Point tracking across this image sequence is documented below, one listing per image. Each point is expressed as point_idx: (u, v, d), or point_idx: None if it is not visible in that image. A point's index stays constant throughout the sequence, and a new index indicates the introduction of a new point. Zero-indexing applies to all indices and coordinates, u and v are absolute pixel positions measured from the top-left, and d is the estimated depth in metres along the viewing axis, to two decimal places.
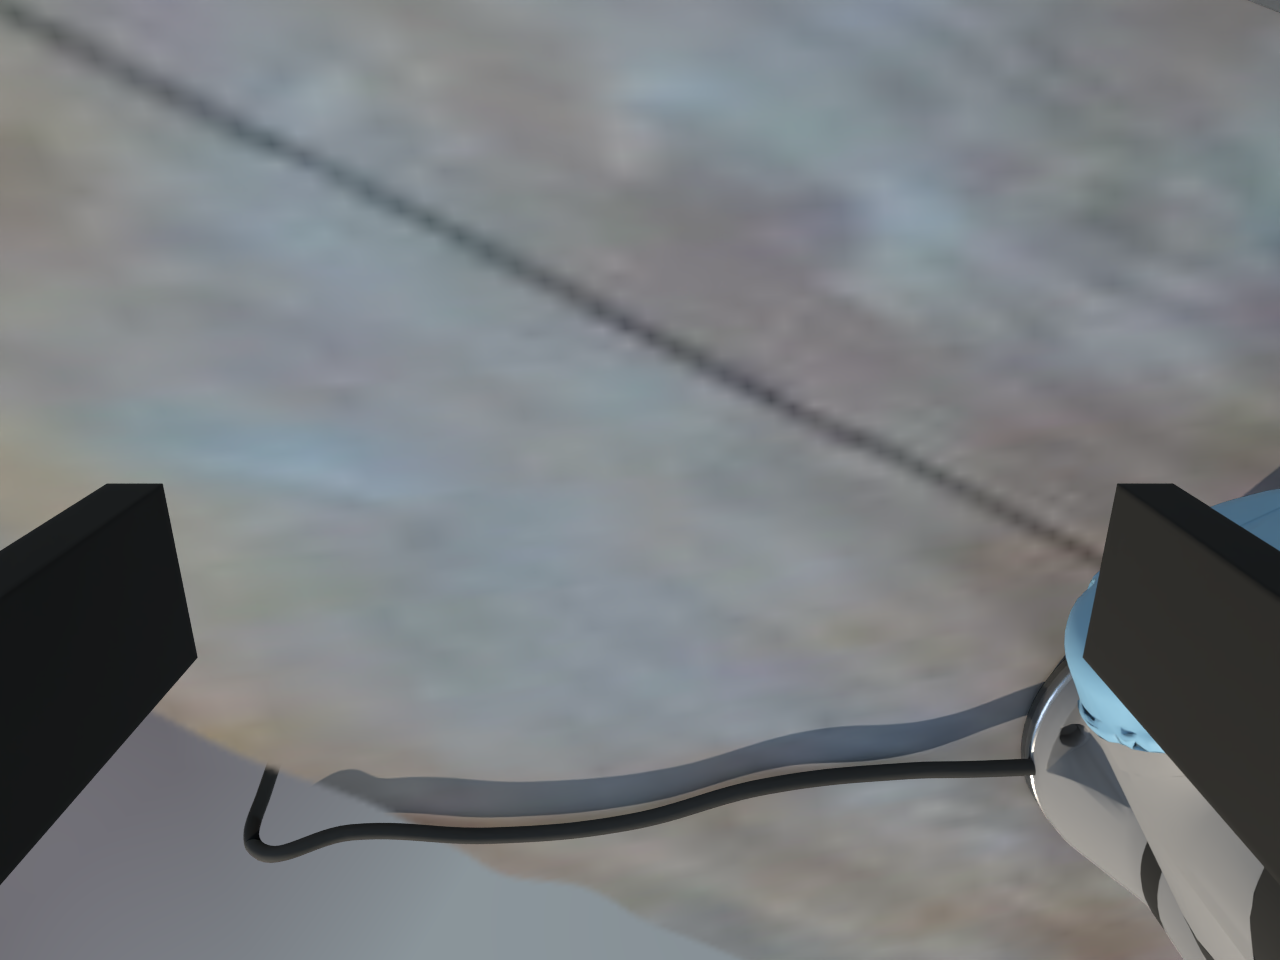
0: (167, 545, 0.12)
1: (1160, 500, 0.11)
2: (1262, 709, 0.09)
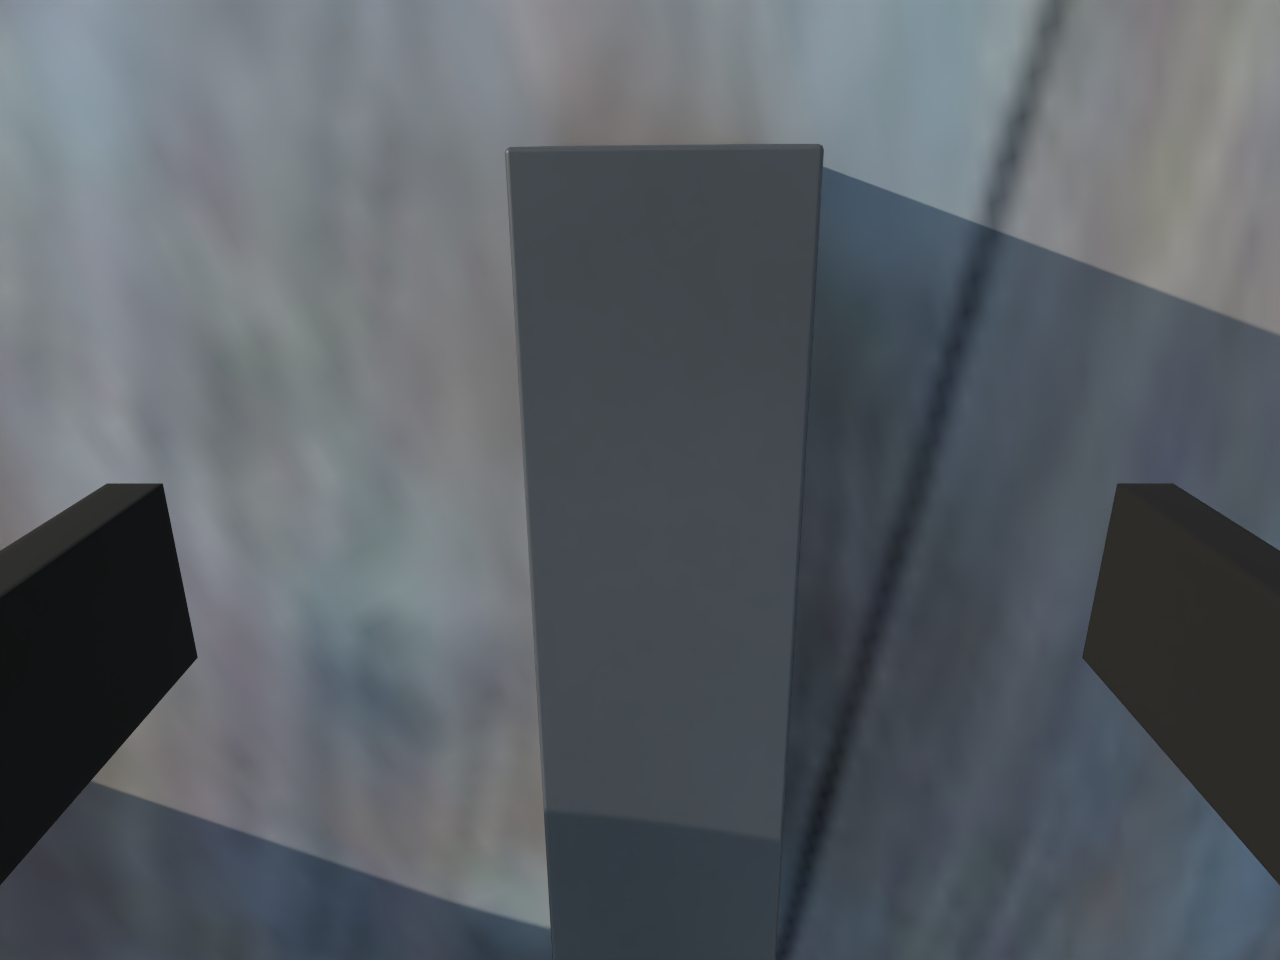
0: (167, 545, 0.12)
1: (1160, 500, 0.11)
2: (1262, 709, 0.09)
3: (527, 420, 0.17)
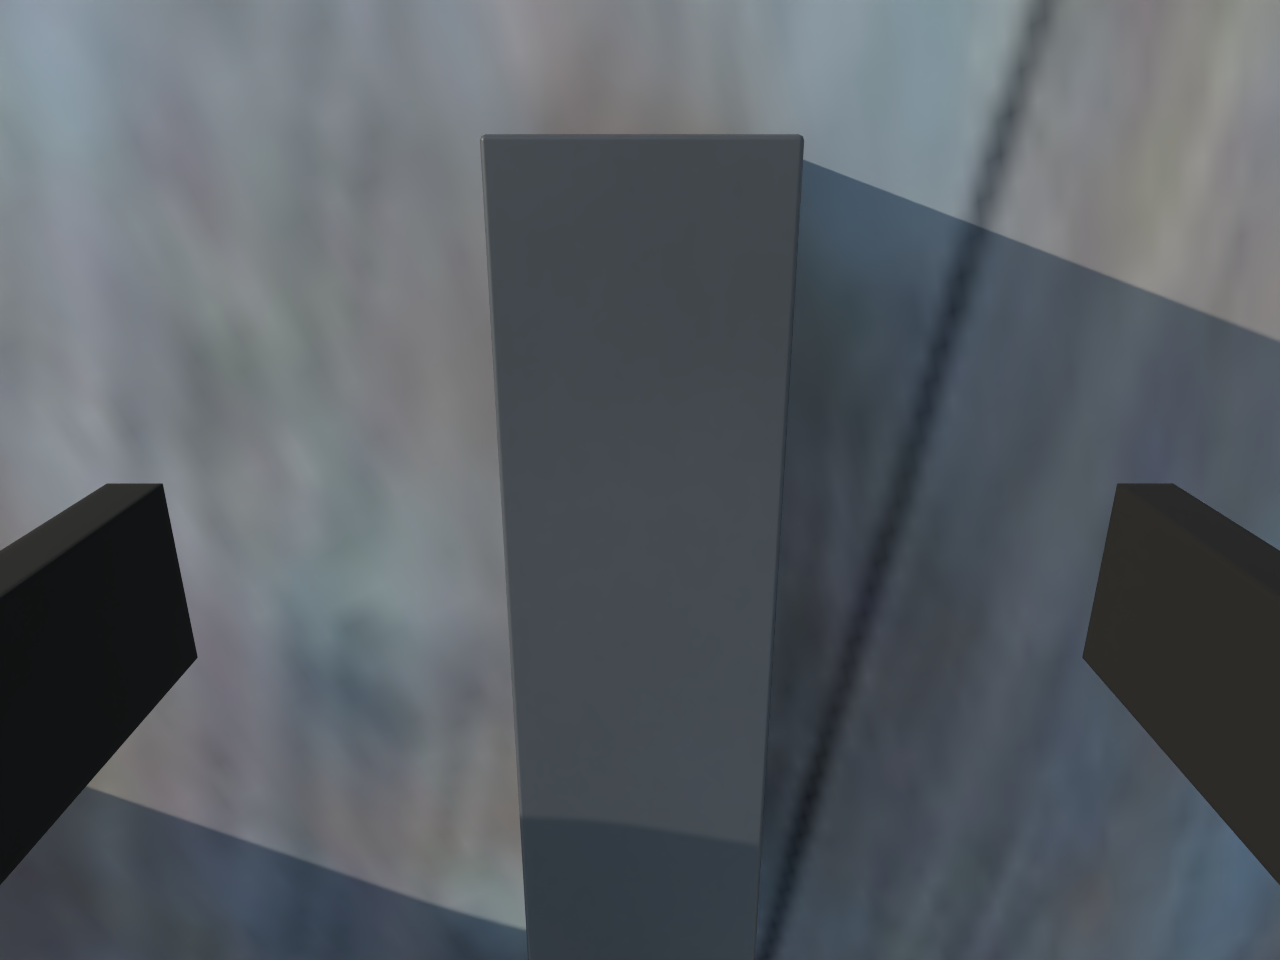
0: (167, 545, 0.12)
1: (1160, 500, 0.11)
2: (1262, 709, 0.09)
3: (502, 413, 0.17)
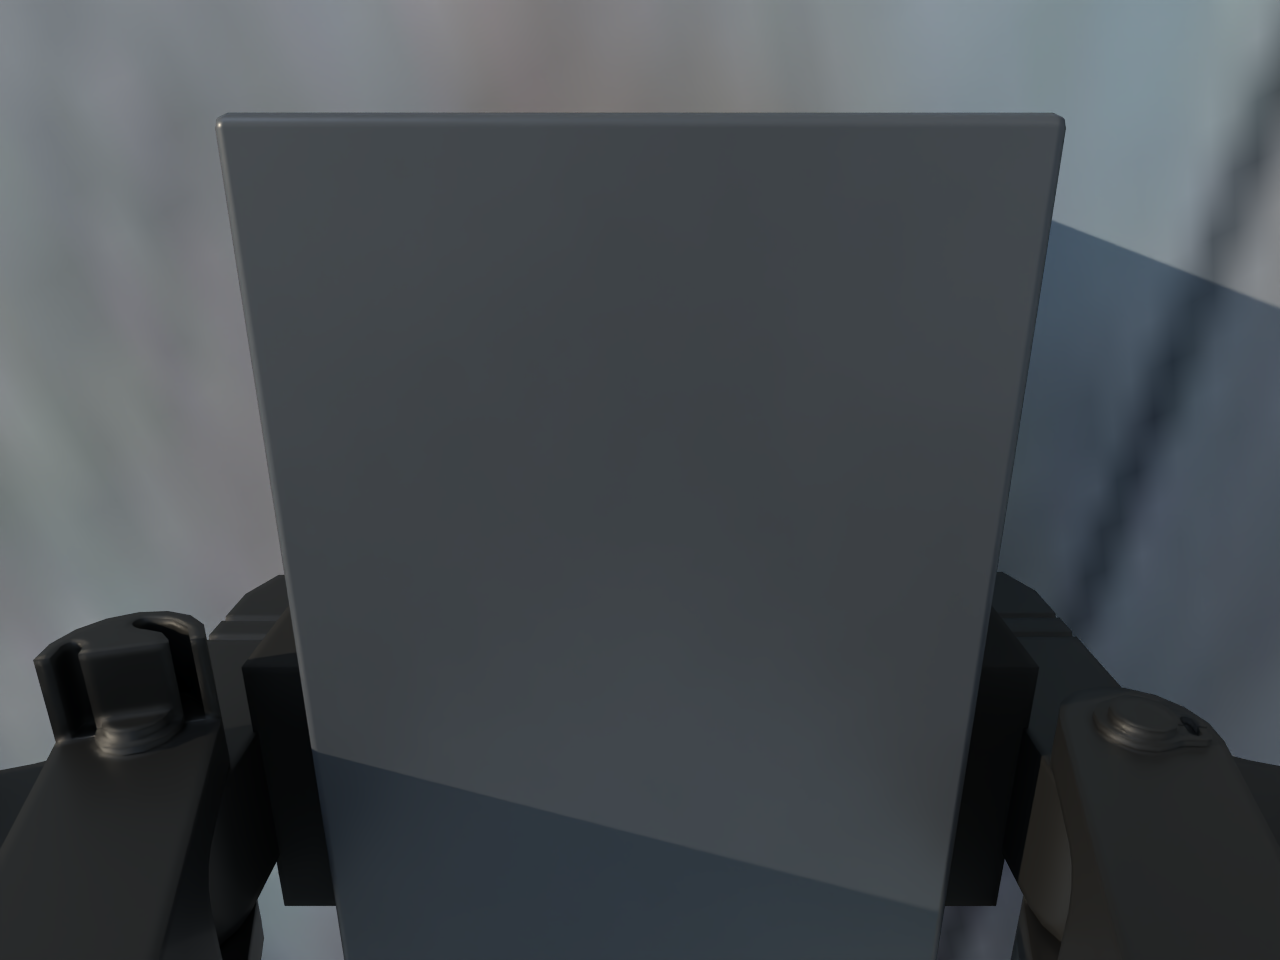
0: None
1: None
2: None
3: (324, 751, 0.07)
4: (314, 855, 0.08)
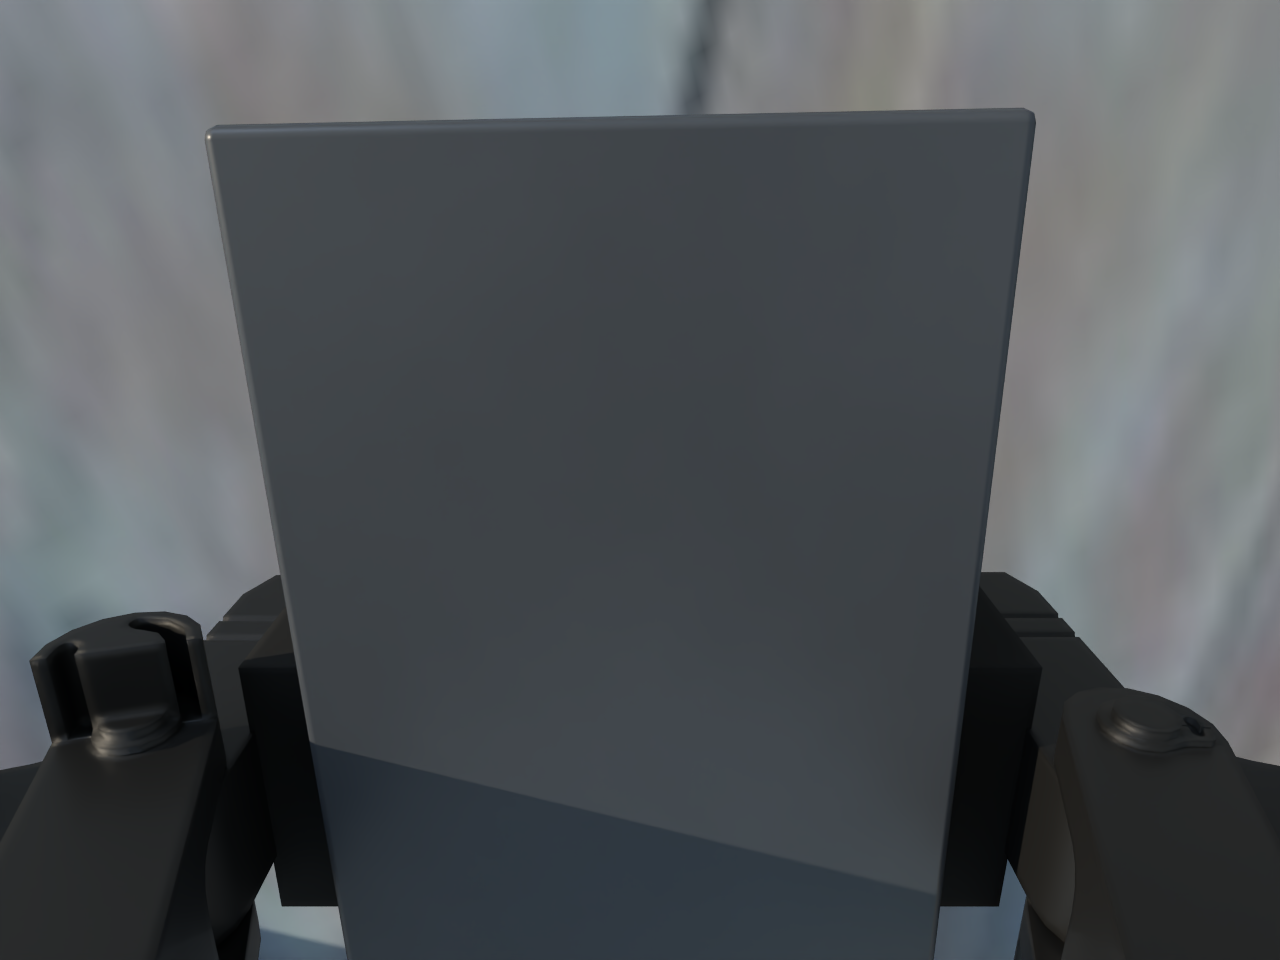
0: None
1: None
2: None
3: (323, 752, 0.07)
4: (311, 855, 0.08)
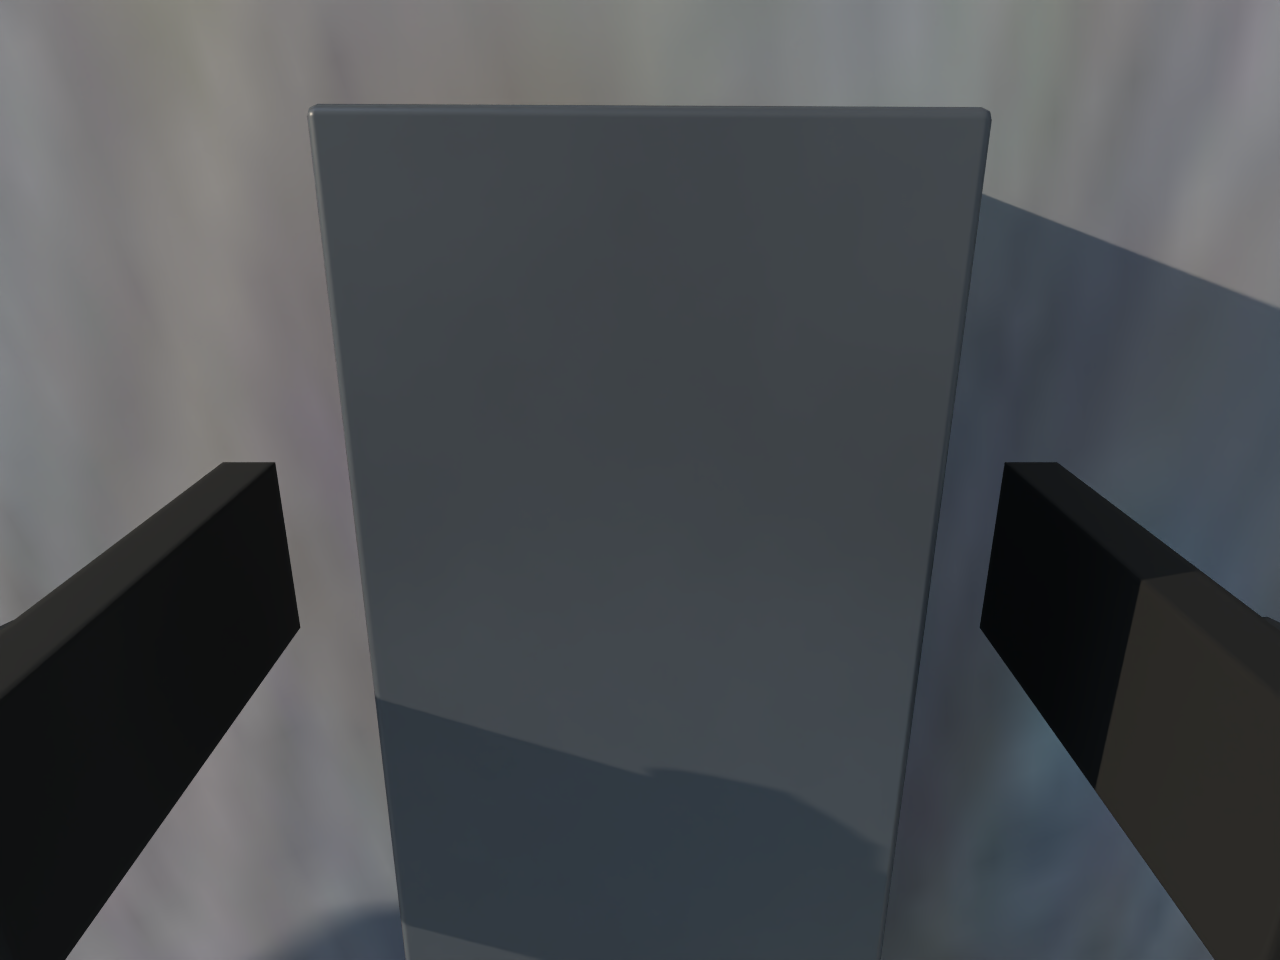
0: (278, 520, 0.13)
1: (1039, 477, 0.12)
2: (1106, 664, 0.10)
3: (380, 643, 0.09)
4: None
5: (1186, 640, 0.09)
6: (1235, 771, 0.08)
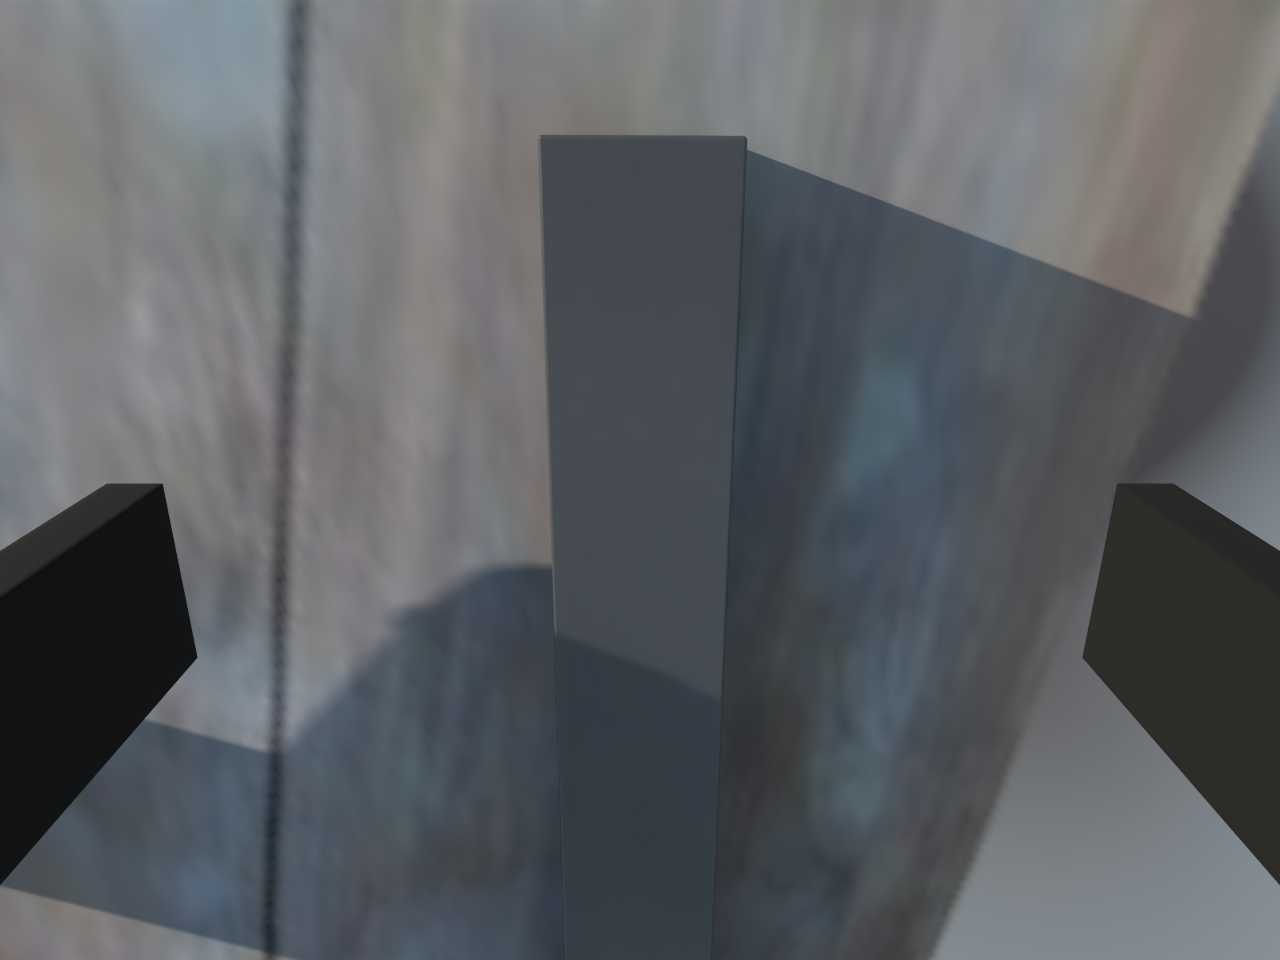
0: (166, 545, 0.12)
1: (1160, 500, 0.11)
2: (1262, 709, 0.09)
3: (548, 321, 0.25)
4: None
5: None
6: None
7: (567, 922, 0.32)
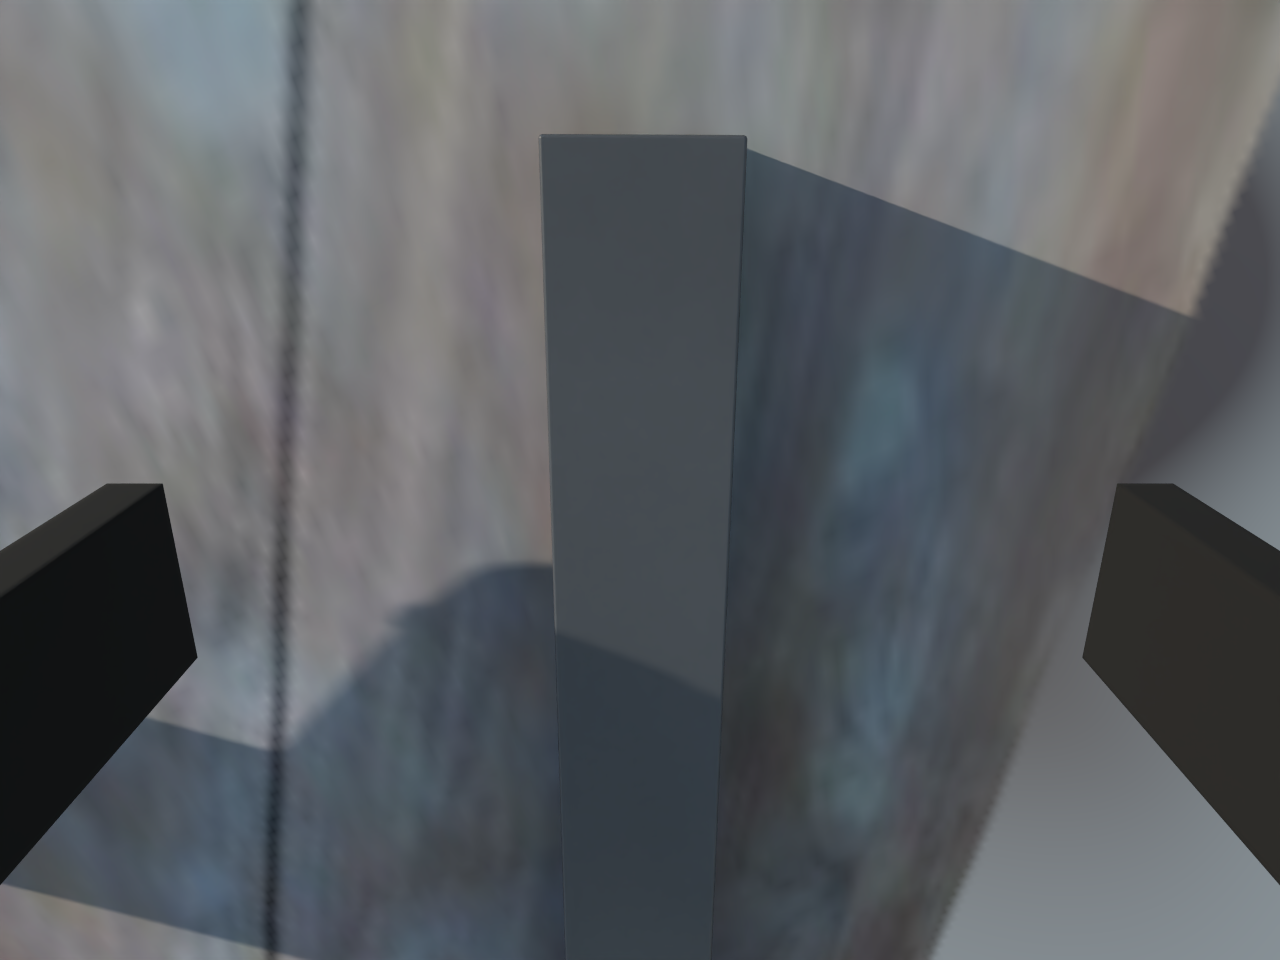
0: (167, 545, 0.12)
1: (1160, 500, 0.11)
2: (1262, 709, 0.09)
3: (549, 320, 0.25)
4: None
5: None
6: None
7: (567, 920, 0.33)
